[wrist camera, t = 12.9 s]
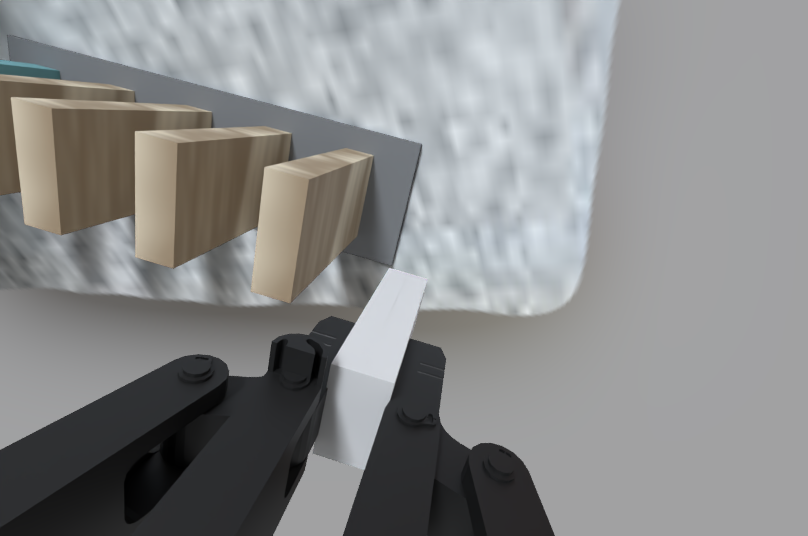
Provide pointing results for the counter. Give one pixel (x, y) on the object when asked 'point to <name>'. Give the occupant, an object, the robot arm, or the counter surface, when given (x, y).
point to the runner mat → (229, 110)
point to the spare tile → (27, 70)
